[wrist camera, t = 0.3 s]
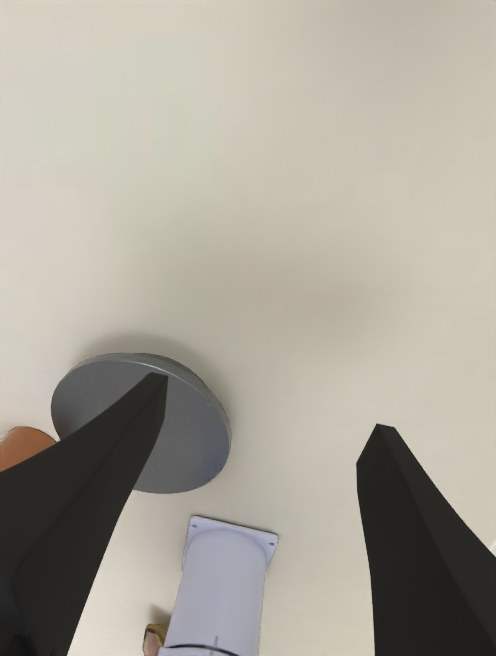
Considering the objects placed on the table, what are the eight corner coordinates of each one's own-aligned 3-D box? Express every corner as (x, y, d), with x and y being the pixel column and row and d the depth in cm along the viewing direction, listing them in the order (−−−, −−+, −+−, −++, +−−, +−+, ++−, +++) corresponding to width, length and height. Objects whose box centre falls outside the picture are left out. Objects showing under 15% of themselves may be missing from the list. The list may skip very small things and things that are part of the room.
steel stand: (223, 474, 30) (216, 509, 27) (79, 441, 30) (58, 472, 28) (250, 356, 24) (244, 386, 21) (68, 315, 24) (40, 340, 21)
